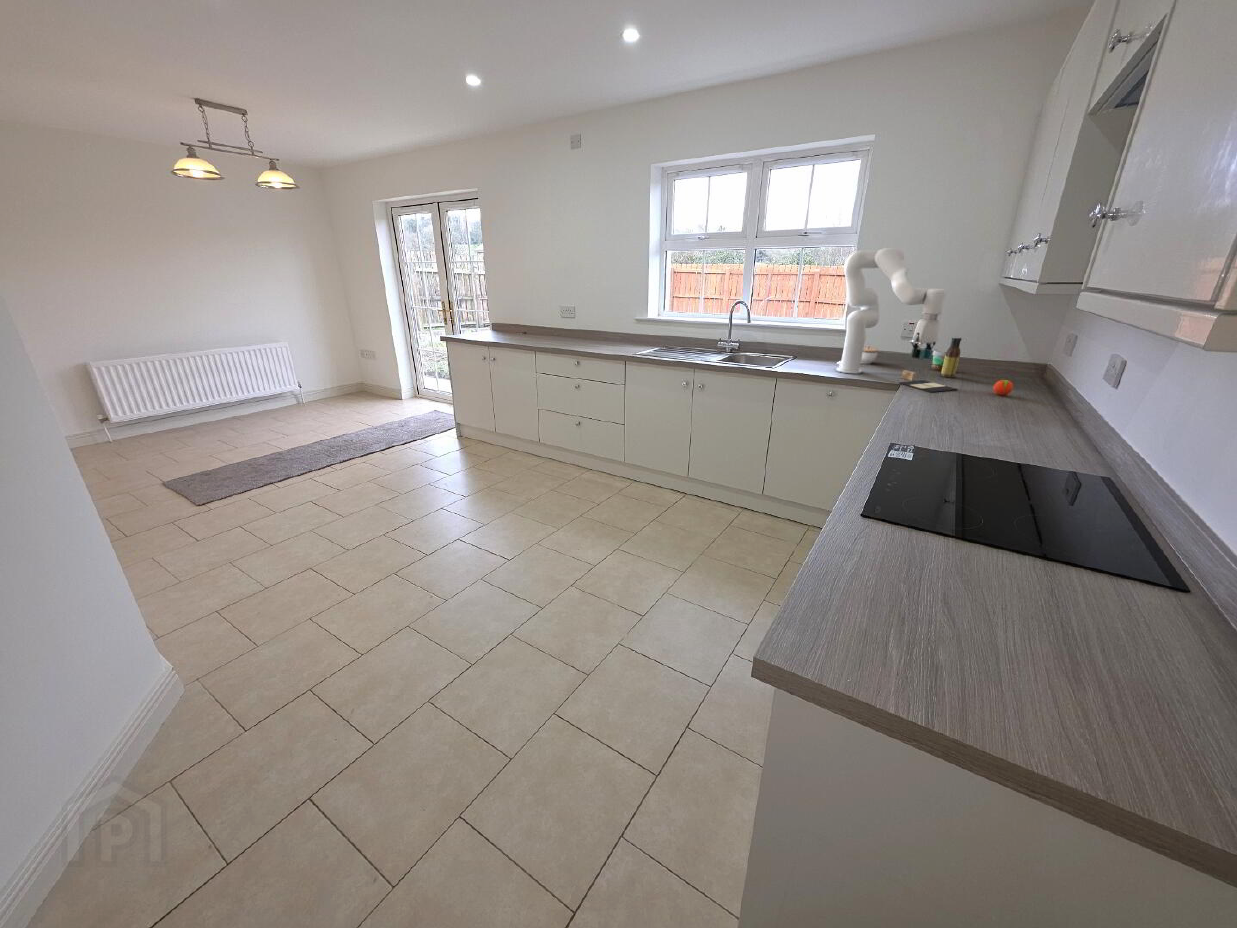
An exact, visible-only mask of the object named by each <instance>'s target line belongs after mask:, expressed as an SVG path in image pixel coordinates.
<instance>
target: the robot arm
mask: <svg viewBox="0 0 1237 928" xmlns="http://www.w3.org/2000/svg"><path fill="white" fill-rule="evenodd" d="M904 258H905V254H904V252H903V250H902V249H900V248H897V247H884V248H881V249H860V250H855V251H853V252H852V253H851V254H850V255H849V256H848V257H847V259H846V260H845V262H844V267H843V268H844V270H843V271H844V277H845V285H846V295H847V303H848V306H849V307H851V308H855V309H856V310H853V311H852V312H850V313H849V315H847V318H846V332H845V339H844V345H843V350H842V356H841V360H839V361H837V362H836V365H838V367H836V371H837V372H839V373H843V374H851V375H852V374H853V375H854V374H855V375H856V374H862V373H863V369H861V368H860V367H861V364H862V363H861V358H862V353H863V349H864V348H865V344H866V337H867V334H866V329H871V328H874V327H875V326H877V325H878V323H879V321H880V304H879V297H878V296H879V295H878V293H877V291H876V290H875V289H874V288H871V287H866V280H865V276H864V273H863V271H862V269H880V270H881V272H883V273H884V275H885V276H886V277H887V278H888V279H889V280H890V282H891V283H890V285H891V288H892V291H893V293H894V294H895V296H896V297H897V298H898V299H899V300H900V301H901V303H903V304H904V305H906V306H915V305H916V306H919V305H923V306H922V307H923V308H922V311H921V315H920V319H919V320H918V322H917V324H916V327H915V330H914V331H913V335H912V339H911V340H910V343H911V346H912V349H914V350H913V354H912V357H913V358H912V359H915V358H919V354H920V348H922V346H923V344H925V347H924V349H929V350H933V349H934V346H936V344H937V343H938V342H939V338H938V335H939V330H940V321H941V316H942V312H943V308H944V305H945V301H946V296H947V290H946V289H945V288H931V287H926V286H925V287H923V286H917V287H915V286H914V285H912V283H911V282H910V281H909V280H908V278H907V276H906V275H907V274H908V273H909V267H908V266H907V264H906V263H905V262H904ZM859 308H860V309H859Z"/></svg>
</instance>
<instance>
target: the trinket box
mask: <svg viewBox="0 0 1237 928" xmlns="http://www.w3.org/2000/svg"><path fill="white" fill-rule="evenodd" d="M878 353H879V349H877V348H874V347H870V345H868V346H867V347H864V349H863V353H862V358H861V363H860V364H867V365H870V364H872V363H873V362H874V361H875V360H876V359H877V357H878Z"/></svg>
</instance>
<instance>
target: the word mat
mask: <svg viewBox="0 0 1237 928" xmlns="http://www.w3.org/2000/svg"><path fill="white" fill-rule="evenodd" d="M898 384H899V385H903V386H906V387H910V388H913V389H916V390H920V391H924V392H927V393H932V394H933V393H942V392H951V391H958V388H955V387H951V386H948V385H943V384H940V383H936V382H932V381H929V380H925V379H923V380H922V379H921V380H914V381H900V382H898Z"/></svg>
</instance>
